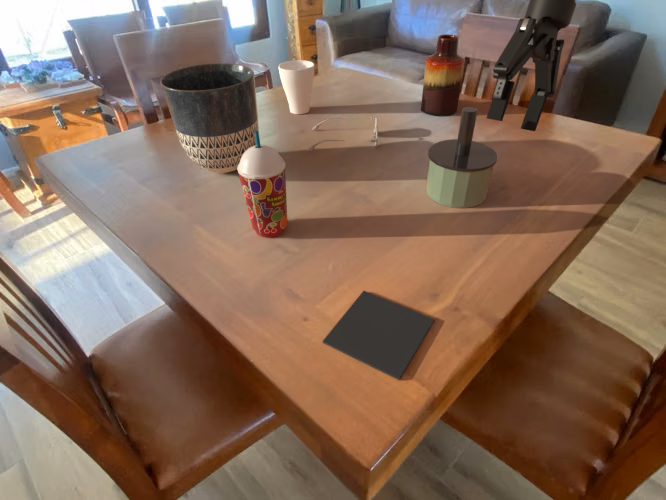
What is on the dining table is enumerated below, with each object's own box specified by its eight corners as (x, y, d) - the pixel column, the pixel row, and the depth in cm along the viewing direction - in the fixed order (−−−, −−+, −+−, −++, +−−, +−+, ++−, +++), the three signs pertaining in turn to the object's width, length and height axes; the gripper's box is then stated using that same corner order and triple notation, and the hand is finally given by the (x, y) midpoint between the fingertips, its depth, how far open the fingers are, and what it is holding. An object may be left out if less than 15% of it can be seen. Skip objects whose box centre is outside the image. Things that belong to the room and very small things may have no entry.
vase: (415, 113, 128) (423, 39, 115) (427, 101, 135) (435, 30, 123) (451, 118, 124) (462, 42, 111) (461, 106, 131) (472, 33, 119)
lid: (504, 153, 88) (516, 104, 82) (484, 181, 80) (496, 128, 73) (441, 139, 94) (448, 93, 88) (416, 164, 85) (422, 114, 79)
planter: (260, 145, 113) (248, 59, 100) (272, 179, 98) (259, 84, 85) (184, 155, 109) (161, 68, 96) (185, 193, 95) (158, 95, 81)
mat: (434, 321, 63) (434, 319, 63) (399, 380, 56) (399, 378, 55) (363, 292, 69) (363, 290, 68) (322, 342, 61) (322, 340, 60)
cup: (290, 119, 126) (286, 72, 118) (277, 108, 134) (272, 63, 125) (322, 113, 130) (320, 66, 122) (308, 102, 137) (305, 58, 129)
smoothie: (282, 245, 79) (269, 144, 66) (241, 238, 81) (221, 139, 68) (298, 220, 85) (289, 123, 73) (259, 214, 87) (244, 119, 74)
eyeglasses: (377, 153, 108) (378, 138, 105) (306, 152, 109) (305, 138, 106) (376, 128, 120) (377, 114, 117) (312, 128, 121) (311, 115, 118)
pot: (493, 186, 93) (501, 150, 88) (475, 214, 85) (483, 176, 80) (438, 173, 99) (443, 138, 93) (416, 197, 90) (420, 161, 85)
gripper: (560, 21, 84) (522, 130, 90) (499, -28, 67) (458, 111, 74) (600, 21, 79) (557, 137, 85) (545, -31, 62) (497, 118, 69)
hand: (511, 125), depth 80 cm, fingers open, 13 cm apart
